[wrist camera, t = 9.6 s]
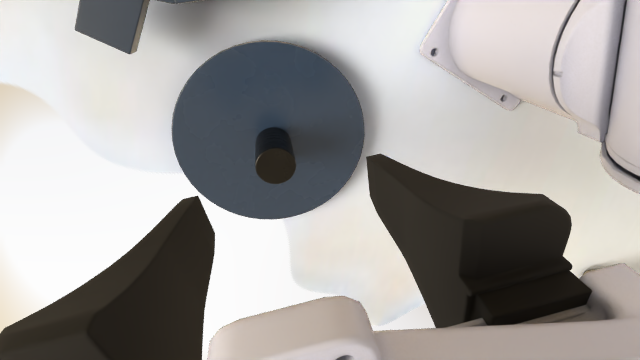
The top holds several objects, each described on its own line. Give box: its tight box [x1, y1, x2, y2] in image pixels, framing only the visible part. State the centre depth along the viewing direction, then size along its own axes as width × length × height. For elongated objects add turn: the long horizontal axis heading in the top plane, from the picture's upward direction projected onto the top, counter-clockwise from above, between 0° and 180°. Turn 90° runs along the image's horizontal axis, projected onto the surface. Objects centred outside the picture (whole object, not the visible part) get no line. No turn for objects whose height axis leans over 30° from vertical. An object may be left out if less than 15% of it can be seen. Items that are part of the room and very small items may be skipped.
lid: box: [172, 40, 364, 219], centre depth 20 cm, size 13×13×4 cm
